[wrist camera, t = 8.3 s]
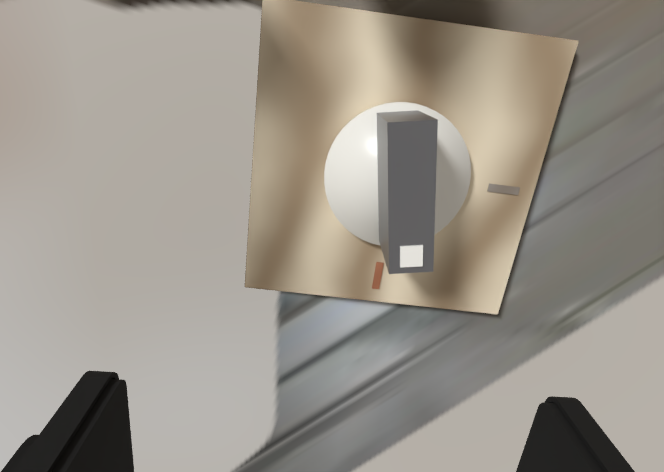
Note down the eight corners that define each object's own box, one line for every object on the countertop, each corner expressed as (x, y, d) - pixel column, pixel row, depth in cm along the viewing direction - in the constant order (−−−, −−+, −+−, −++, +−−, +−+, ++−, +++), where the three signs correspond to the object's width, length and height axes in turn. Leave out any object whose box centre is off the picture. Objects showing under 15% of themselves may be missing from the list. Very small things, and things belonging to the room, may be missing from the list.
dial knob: (319, 106, 26) (317, 115, 21) (472, 97, 26) (509, 104, 21) (328, 246, 29) (328, 286, 24) (464, 239, 29) (494, 277, 24)
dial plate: (247, 280, 31) (244, 287, 30) (265, -2, 25) (262, -5, 24) (492, 307, 32) (498, 315, 31) (569, 41, 26) (579, 40, 25)
